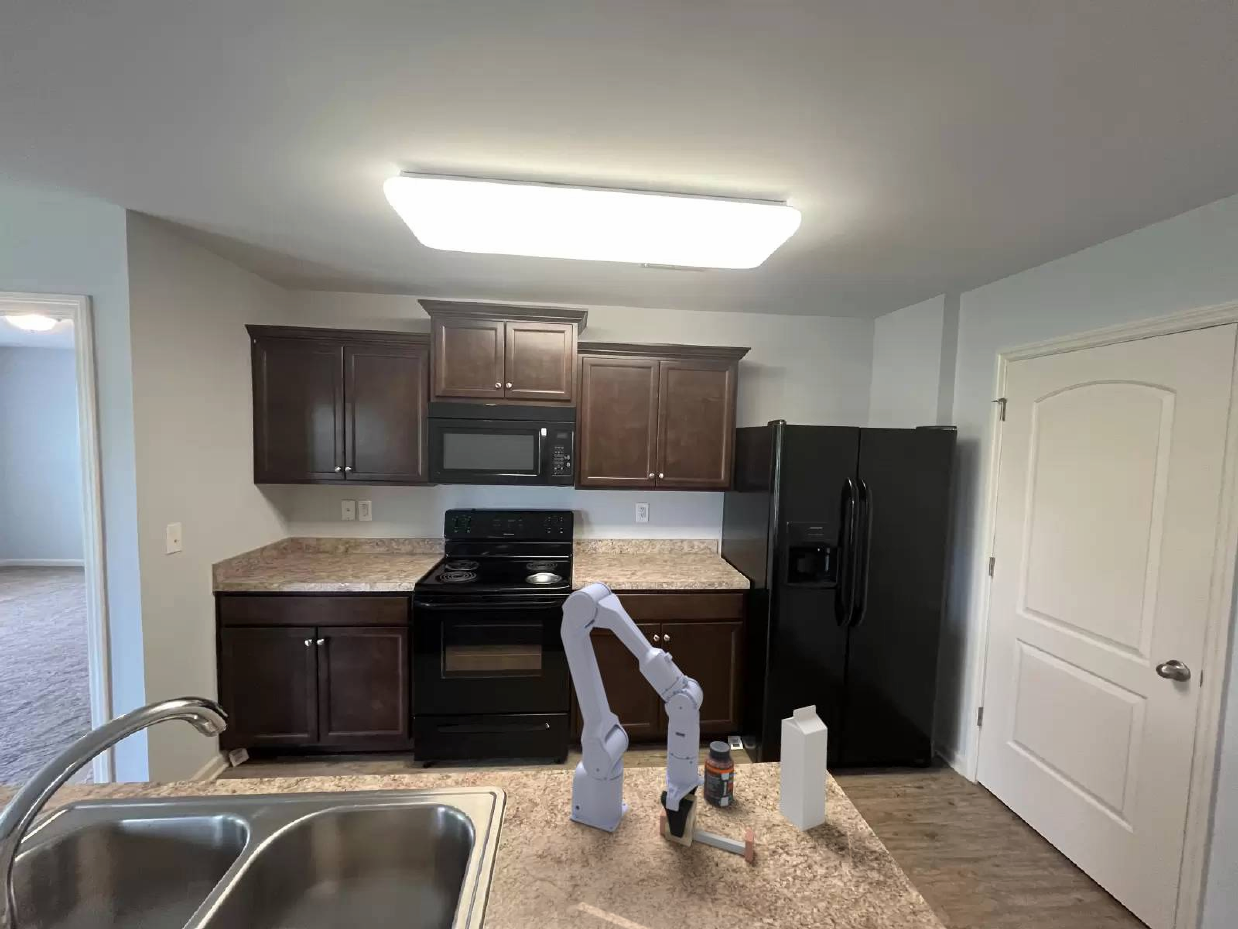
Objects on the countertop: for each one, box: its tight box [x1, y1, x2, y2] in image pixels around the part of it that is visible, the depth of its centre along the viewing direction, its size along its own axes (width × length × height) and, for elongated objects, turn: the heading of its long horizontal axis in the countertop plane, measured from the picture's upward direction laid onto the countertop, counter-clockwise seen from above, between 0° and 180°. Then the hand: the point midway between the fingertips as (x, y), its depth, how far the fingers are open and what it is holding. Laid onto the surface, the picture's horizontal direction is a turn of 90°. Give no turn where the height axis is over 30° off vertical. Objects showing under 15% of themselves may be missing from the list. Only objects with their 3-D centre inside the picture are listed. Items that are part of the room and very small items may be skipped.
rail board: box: [659, 807, 755, 863], centre depth 88 cm, size 17×9×4 cm, turn 69°
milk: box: [778, 704, 828, 832], centre depth 96 cm, size 6×6×22 cm
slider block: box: [664, 793, 698, 847], centre depth 90 cm, size 5×5×6 cm
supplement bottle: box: [703, 740, 735, 809], centre depth 101 cm, size 6×6×11 cm
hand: (680, 825), depth 90 cm, fingers closed on slider block, 5 cm apart
